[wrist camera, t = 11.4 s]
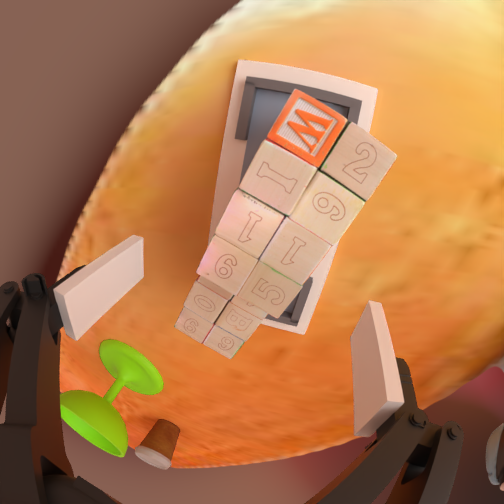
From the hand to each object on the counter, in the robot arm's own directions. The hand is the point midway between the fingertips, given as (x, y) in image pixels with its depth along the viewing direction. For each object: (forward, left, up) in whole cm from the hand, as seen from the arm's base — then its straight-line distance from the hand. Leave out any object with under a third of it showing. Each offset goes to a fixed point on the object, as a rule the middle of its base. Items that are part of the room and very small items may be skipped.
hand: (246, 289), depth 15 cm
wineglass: (+22, +39, -16) cm, 48 cm away
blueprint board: (0, 0, -16) cm, 16 cm away
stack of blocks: (0, 0, -14) cm, 14 cm away
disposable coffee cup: (+14, +60, -16) cm, 64 cm away
